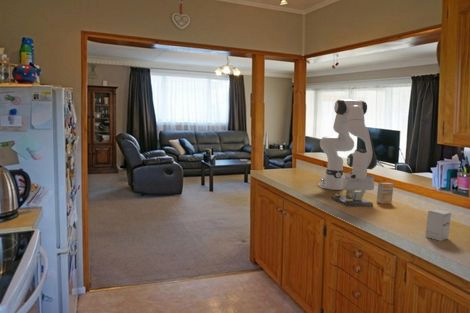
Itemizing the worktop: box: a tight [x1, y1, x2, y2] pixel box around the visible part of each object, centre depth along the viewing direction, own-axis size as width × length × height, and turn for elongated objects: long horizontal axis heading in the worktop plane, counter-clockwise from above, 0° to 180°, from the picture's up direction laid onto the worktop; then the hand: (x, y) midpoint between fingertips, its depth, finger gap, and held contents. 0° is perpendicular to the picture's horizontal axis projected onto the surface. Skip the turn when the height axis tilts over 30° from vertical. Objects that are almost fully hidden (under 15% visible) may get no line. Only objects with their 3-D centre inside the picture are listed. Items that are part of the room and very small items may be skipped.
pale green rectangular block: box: [353, 190, 363, 200], centre depth 246 cm, size 4×4×5 cm
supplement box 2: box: [425, 208, 452, 242], centre depth 180 cm, size 7×7×13 cm
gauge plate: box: [330, 192, 374, 207], centre depth 247 cm, size 20×18×4 cm
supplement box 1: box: [376, 182, 395, 205], centre depth 249 cm, size 8×5×13 cm, turn 105°
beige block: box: [345, 190, 356, 198], centre depth 254 cm, size 4×4×5 cm
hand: (357, 196), depth 246 cm, fingers closed on pale green rectangular block, 4 cm apart
